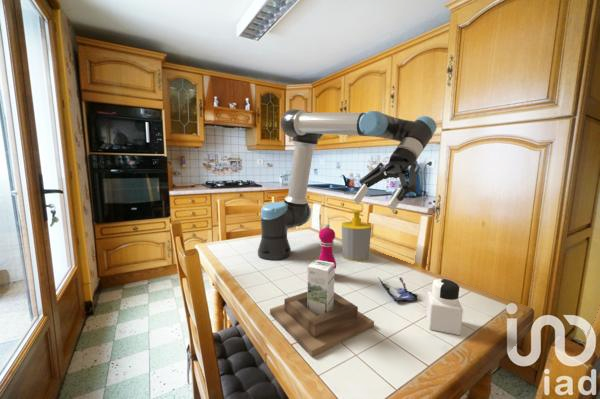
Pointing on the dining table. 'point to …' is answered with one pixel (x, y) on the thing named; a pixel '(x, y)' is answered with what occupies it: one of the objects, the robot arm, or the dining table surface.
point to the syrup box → (320, 287)
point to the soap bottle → (356, 238)
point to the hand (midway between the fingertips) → (372, 204)
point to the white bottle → (444, 307)
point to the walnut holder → (320, 323)
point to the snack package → (400, 292)
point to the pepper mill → (327, 245)
